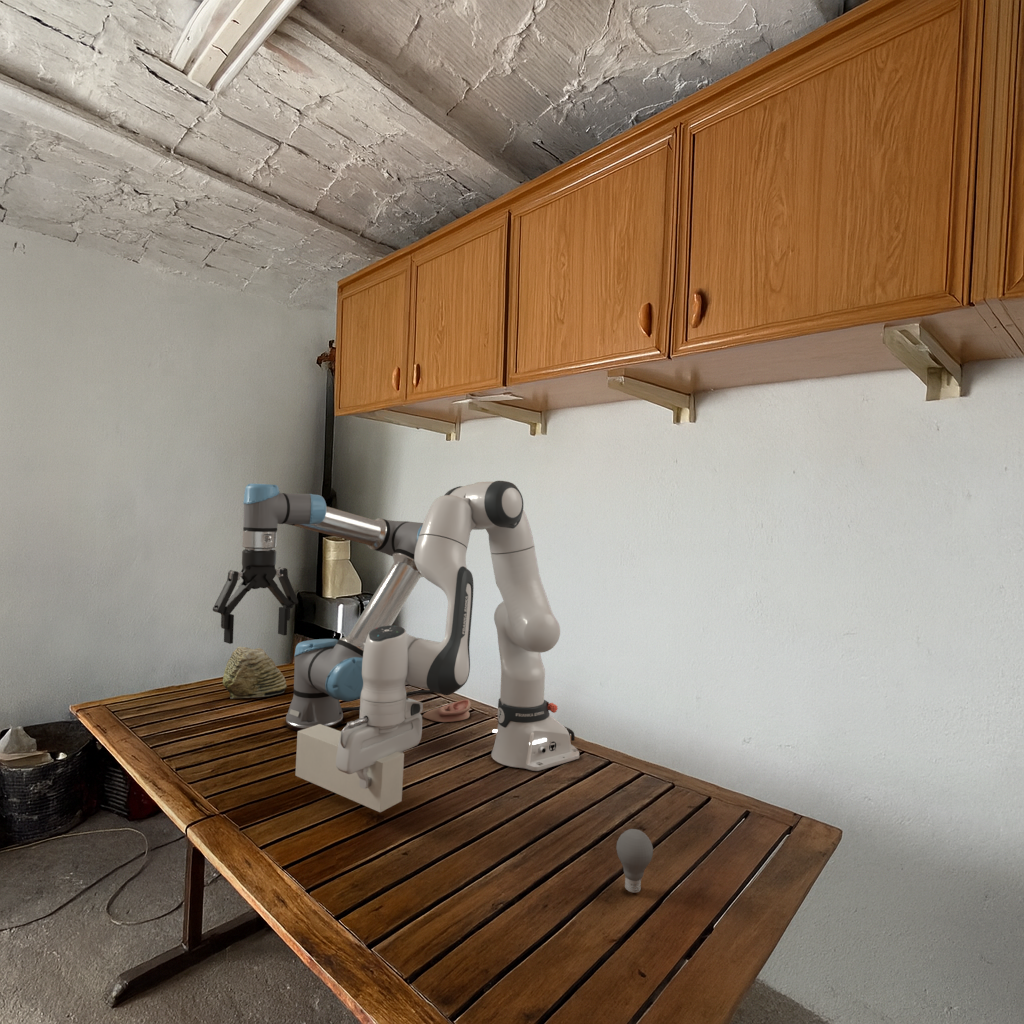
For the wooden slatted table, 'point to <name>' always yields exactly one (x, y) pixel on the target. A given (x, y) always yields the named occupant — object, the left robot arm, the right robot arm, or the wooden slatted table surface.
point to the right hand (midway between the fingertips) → (379, 780)
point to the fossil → (252, 674)
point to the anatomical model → (450, 712)
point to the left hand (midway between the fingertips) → (256, 638)
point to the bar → (321, 769)
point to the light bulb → (634, 857)
